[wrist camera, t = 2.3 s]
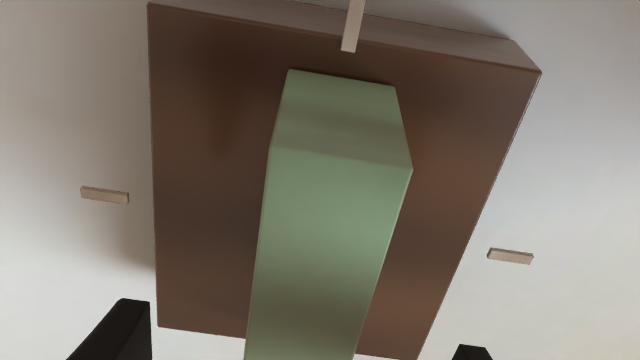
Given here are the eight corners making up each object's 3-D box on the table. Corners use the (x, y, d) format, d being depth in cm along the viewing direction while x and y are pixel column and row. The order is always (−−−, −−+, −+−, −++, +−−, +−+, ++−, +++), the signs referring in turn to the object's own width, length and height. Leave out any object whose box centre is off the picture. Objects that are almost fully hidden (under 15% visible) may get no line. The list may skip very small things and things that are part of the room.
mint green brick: (288, 67, 13) (267, 151, 9) (395, 85, 13) (416, 175, 9) (254, 324, 18) (233, 439, 15) (329, 334, 18) (326, 450, 15)
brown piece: (95, -78, 13) (46, -63, 11) (601, 15, 14) (649, 45, 12) (126, 291, 21) (100, 342, 19) (449, 335, 22) (461, 390, 20)
